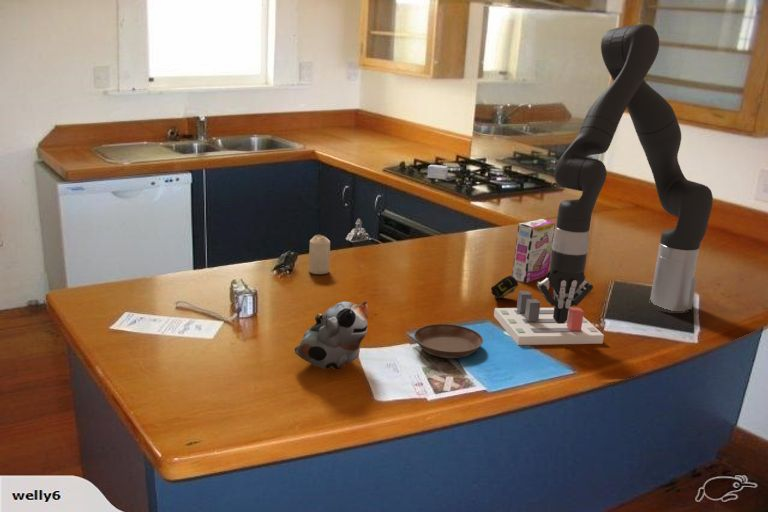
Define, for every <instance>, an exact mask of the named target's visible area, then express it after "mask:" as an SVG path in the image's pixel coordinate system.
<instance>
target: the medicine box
mask: <svg viewBox="0 0 768 512" xmlns="http://www.w3.org/2000/svg"><path fill="white" fill-rule="evenodd" d="M448 170H449V167H448V166H447V165H440V164H439V165H438V164H430V165H428V166H427V178H428V179H436V180H437V179H439V180H446V179H447V178H448V172H449V171H448Z"/></svg>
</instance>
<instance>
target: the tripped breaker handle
mask: <svg viewBox="0 0 768 512" xmlns="http://www.w3.org/2000/svg"><path fill="white" fill-rule="evenodd" d="M583 317H584V310H583V309H582V308H580V307H570V308H569V314H568V321H567V327H568V328H569V329H570V330H581V327H582V320H583Z"/></svg>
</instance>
